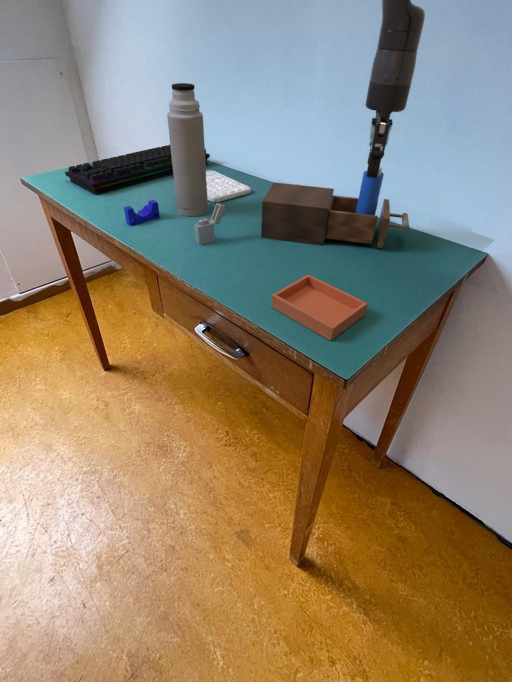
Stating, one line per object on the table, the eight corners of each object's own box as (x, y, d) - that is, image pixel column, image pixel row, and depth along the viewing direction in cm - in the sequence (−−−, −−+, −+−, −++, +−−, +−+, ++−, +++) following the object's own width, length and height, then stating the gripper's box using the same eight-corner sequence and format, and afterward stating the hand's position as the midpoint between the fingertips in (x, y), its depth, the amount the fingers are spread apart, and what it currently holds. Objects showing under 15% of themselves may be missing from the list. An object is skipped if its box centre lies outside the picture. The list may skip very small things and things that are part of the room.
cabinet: (328, 223, 99) (334, 188, 94) (323, 245, 90) (328, 208, 84) (272, 216, 102) (273, 182, 96) (261, 237, 92) (262, 201, 87)
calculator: (214, 204, 107) (213, 197, 106) (175, 183, 119) (175, 176, 117) (252, 193, 114) (252, 186, 112) (212, 174, 125) (212, 168, 124)
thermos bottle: (171, 212, 102) (155, 84, 84) (190, 202, 108) (179, 80, 90) (195, 219, 99) (185, 88, 81) (214, 208, 105) (208, 83, 86)
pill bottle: (371, 227, 93) (385, 165, 84) (370, 235, 90) (385, 171, 81) (353, 225, 94) (365, 163, 85) (352, 232, 91) (364, 169, 82)
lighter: (199, 245, 89) (196, 210, 83) (195, 242, 90) (192, 208, 84) (226, 238, 92) (225, 204, 87) (222, 235, 93) (221, 201, 88)
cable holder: (153, 213, 101) (150, 197, 99) (160, 218, 99) (157, 202, 97) (124, 221, 97) (120, 205, 95) (130, 226, 95) (127, 209, 93)
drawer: (402, 229, 96) (410, 201, 91) (404, 251, 87) (413, 221, 83) (327, 220, 98) (331, 193, 94) (322, 240, 90) (326, 211, 86)
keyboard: (180, 154, 141) (178, 139, 138) (210, 164, 133) (210, 148, 130) (67, 181, 117) (62, 163, 114) (95, 196, 109) (91, 177, 106)
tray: (364, 315, 70) (367, 303, 68) (330, 341, 64) (332, 328, 63) (306, 285, 77) (308, 274, 75) (271, 306, 71) (271, 294, 70)
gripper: (414, 86, 67) (390, 183, 78) (409, 75, 78) (389, 162, 88) (369, 83, 68) (352, 179, 79) (370, 73, 79) (355, 159, 90)
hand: (371, 170), depth 84 cm, fingers open, 8 cm apart
